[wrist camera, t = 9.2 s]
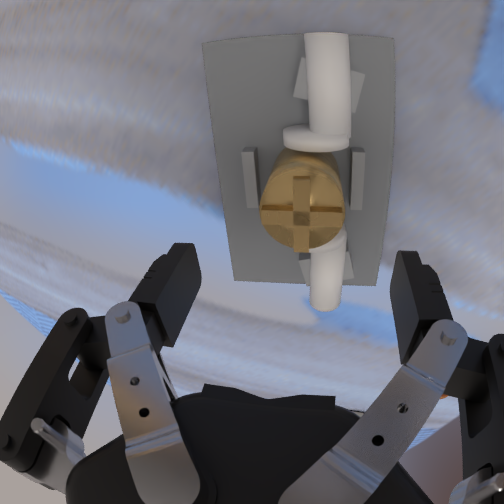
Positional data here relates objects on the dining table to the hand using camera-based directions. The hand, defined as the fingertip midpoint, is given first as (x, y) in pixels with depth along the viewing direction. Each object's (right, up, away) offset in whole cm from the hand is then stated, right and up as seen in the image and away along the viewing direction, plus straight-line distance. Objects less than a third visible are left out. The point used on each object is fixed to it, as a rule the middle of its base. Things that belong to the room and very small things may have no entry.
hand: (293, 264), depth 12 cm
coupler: (+2, +6, +9) cm, 11 cm away
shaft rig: (+2, +6, +9) cm, 12 cm away
